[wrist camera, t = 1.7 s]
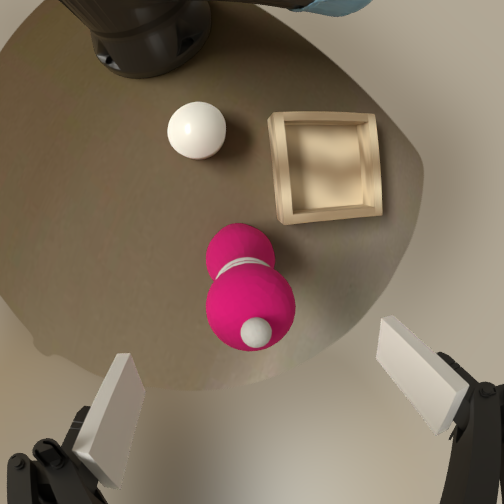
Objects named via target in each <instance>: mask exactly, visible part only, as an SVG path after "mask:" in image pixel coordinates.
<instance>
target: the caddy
mask: <svg viewBox="0 0 504 504" xmlns="http://www.w3.org/2000/svg"><path fill="white" fill-rule="evenodd" d="M268 129H269V138H270V147H271V157H272V167H273V177H274V188H275V199H276V210H277V220H279V221H280V222H281V223H282V224H284V225H289V224H298V223H308V222H317V221H327V220H337V219H347V218H358V217H368V216H380V215H382V187H381V170H380V157H379V146H378V136H377V127H376V119H375V114H367V113H351V112H319V111H302V112H273V113H272V115H271V116H270V117H269V118H268Z"/></svg>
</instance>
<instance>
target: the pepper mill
mask: <svg viewBox="0 0 504 504" xmlns="http://www.w3.org/2000/svg"><path fill="white" fill-rule="evenodd" d="M206 265H207V270H208V272H209V275H210V277H211V278H212V279H213V281H214V282H213V284H212V285H211V288H210V290H209V292H208V296H207V301H206V313H207V318H208V322H209V325H210V326H211V328H212V330H213V332H214V333H215V334H216V335H217V337H218V338H219V339H220V340H221V341H223V342H224V343H225V344H227V345H229V346H230V347H232V348H235V349H238V350H243V351H258V350H262V349H266V348H268V347H270V346H272V345H274V344H275V343H277V342H278V341H280V340H281V339H282V338H283V337H284V336H285V335H286V333H287V332H288V331H289V329H290V327H291V325H292V323H293V320H294V316H295V307H296V306H295V299H294V295H293V292H292V289H291V287H290V285H289V284H288V282H287V280H286V279H285V278H284V277H283V276H282V275H281V274H280V273H279V272H278V271H276V270H274V265H275V254H274V250H273V247H272V245H271V243H270V241H269V239H268V238H267V236H266V235H265V234H264V233H262V232H261V231H260V230H258V229H256V228H254V227H252V226H249V225H247V224H242V223H235V224H230V225H228V226H226V227H224V228H222V229H221V230H220V231H219V232H218V233H217V234H216V235H215V236H214V237H213V239H212V240H211V242H210V244H209V246H208V249H207V252H206Z"/></svg>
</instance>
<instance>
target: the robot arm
mask: <svg viewBox="0 0 504 504" xmlns="http://www.w3.org/2000/svg"><path fill="white" fill-rule="evenodd" d="M59 1H60V2H62V3H63V4H64V5H65V6H66V7H67V8H68V9H69V10H70V11H71V12H72V13H73V14H74V15H75V16H77V17H78V18H79V19H80V20H81V21H82V22H83V23H84V24H85V25H86V26H87V27H88V28H89V29H90V32H91V37H92V43H93V48H94V51H95V54H96V56H97V57H98V59H99V60H100V62H101V63H102V64H103V65H104V66H106V67H107V68H108V69H109V70H110V71H112V72H113V73H115V74H117V75H120V76H123V77H127V78H149V77H154V76H158V75H161V74H164V73H167V72H169V71H171V70H174V69H176V68H177V67H179V66H181V65H182V64H184V63H185V62H187V61H188V60H189V59H191V58H192V57H193V56H194V55H195V54H196V53H197V52H198V51H199V50H200V49H201V47H202V46H203V45H204V43H205V41H206V40H207V38H208V36H209V33H210V29H211V10H210V6H209V3H208V1H229V2H242V3H252V4H260V5H268V6H275V7H280V8H286V9H288V10H290V11H293V12H302V11H306V12H312V13H317V14H322V15H327V16H333V17H339V16H345V15H348V14H350V13H354V12H356V11H358V10H360V9H362V8H364V7H365V6H366V5H367V4H369V3H370V2H371V1H372V0H59ZM376 359H377V361H378V362H379V363H380V364H381V366H382V367H383V368H384V369H385V371H386V372H387V373H388V374H389V376H390V377H391V378H392V379H393V381H394V382H395V383H396V385H397V386H398V387H399V389H400V390H401V391H402V392H403V394H404V395H405V396H406V398H407V399H408V400H409V401H410V403H411V404H412V405H413V406H414V408H415V409H416V411H417V412H418V413H419V414H420V416H421V417H422V418H423V420H424V421H425V422H426V424H427V425H428V426H429V428H430V429H431V430H432V432H433V433H434V434H435V436H437V435H439V434H440V433H442V432H444V431H446V430H448V429H449V427H450V425H451V423H452V421H454V422H455V423H456V426H455V428H454V430H453V432H452V433H451V435H450V437H449V440H451V438H452V437H453V443H452V451H451V457H450V462H449V467H448V472H447V476H446V481H445V485H444V489H443V493H442V497H441V501H440V504H496V503H497V496H498V488H499V479H500V485H501V494H502V504H504V384H502V385H499V386H495V385H494V384H492V383H490V382H481V383H478V382H477V381H476V380H475V379H474V378H473V377H472V376H471V375H470V374H469V373H468V372H466V371H465V370H464V369H463V368H462V367H460V365H459V364H458V363H455V361H454V360H453V359H452V358H451V357H450V356H449V355H447V354H444V353H442V352H438V353H435V352H434V351H433V350H432V349H431V348H429V347H428V346H427V345H426V344H425V343H424V342H423V341H421V339H420V338H418V337H417V336H416V335H415V334H414V333H413V332H412V331H411V330H409V329H408V328H407V327H406V326H405V325H404V324H403V323H402V322H400V321H399V320H398V319H397V318H396V317H395V316H393V315H390V316H386V317H383V318H381V324H380V333H379V340H378V348H377V354H376ZM145 393H146V392H145V389H144V387H143V385H142V382H141V380H140V377H139V375H138V372H137V369H136V367H135V364H134V362H133V359H132V356H131V353H117V355H116V357H115V359H114V361H113V363H112V365H111V367H110V369H109V371H108V373H107V375H106V377H105V379H104V381H103V383H102V385H101V387H100V389H99V391H98V393H97V395H96V398H95V399H94V402H93V403H92V406H91V407H90V406H84V407H83V408H82V409H81V410H80V411H78V412H77V414H76V416H75V418H74V420H73V421H74V422H73V423H72V425H71V427H70V429H69V431H68V433H67V435H66V437H65V439H64V442H63V444H62V446H61V447H60V445H59V444H58V443H57V442H56V441H55V440H53V439H49V438H46V439H42V440H40V441H38V442H37V443H36V444H35V445H34V448H33V456H34V457H35V458H36V459H37V460H38V461H31V460H30V459H29V458H28V456H27V455H25V454H23V453H17V454H14V455H13V456H11V458H10V459H9V461H8V465H7V502H8V504H108V503H107V501H106V500H105V498H104V496H103V495H102V493H101V492H100V490H99V489H98V488H97V484H98V481H99V482H100V483H101V484H102V485H103V486H104V487H107V488H113V489H119V490H120V489H121V486H122V481H123V477H124V472H125V468H126V464H127V460H128V456H129V452H130V448H131V444H132V440H133V436H134V433H135V428H136V425H137V421H138V417H139V414H140V410H141V407H142V404H143V400H144V397H145ZM453 435H454V436H453Z"/></svg>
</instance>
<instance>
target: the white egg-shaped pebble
mask: <svg viewBox="0 0 504 504" xmlns="http://www.w3.org/2000/svg"><path fill="white" fill-rule="evenodd" d="M225 134H226V123H225V119H224V117H223V115H222V114H221V112H220V111H219V110H218V109H217V108H216V107H214V106H213V105H210V104H208V103H204V102H193V103H189V104H186V105H184V106H182V107H181V108H179V109H178V110H177V111H176V112H175V113H174V114H173V116H172V117H171V119H170V121H169V125H168V138H169V141H170V143H171V145H172V147H173V148H174V149H175V150H176V151H177V152H179V153H180V154H182V155H184V156H186V157H188V158H190V159H194V160H202V159H206V158H209V157H211V156H213V155H214V154H216V153H217V152H218V151H219V150H220V148H221V147H222V145H223V143H224V140H225Z"/></svg>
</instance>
